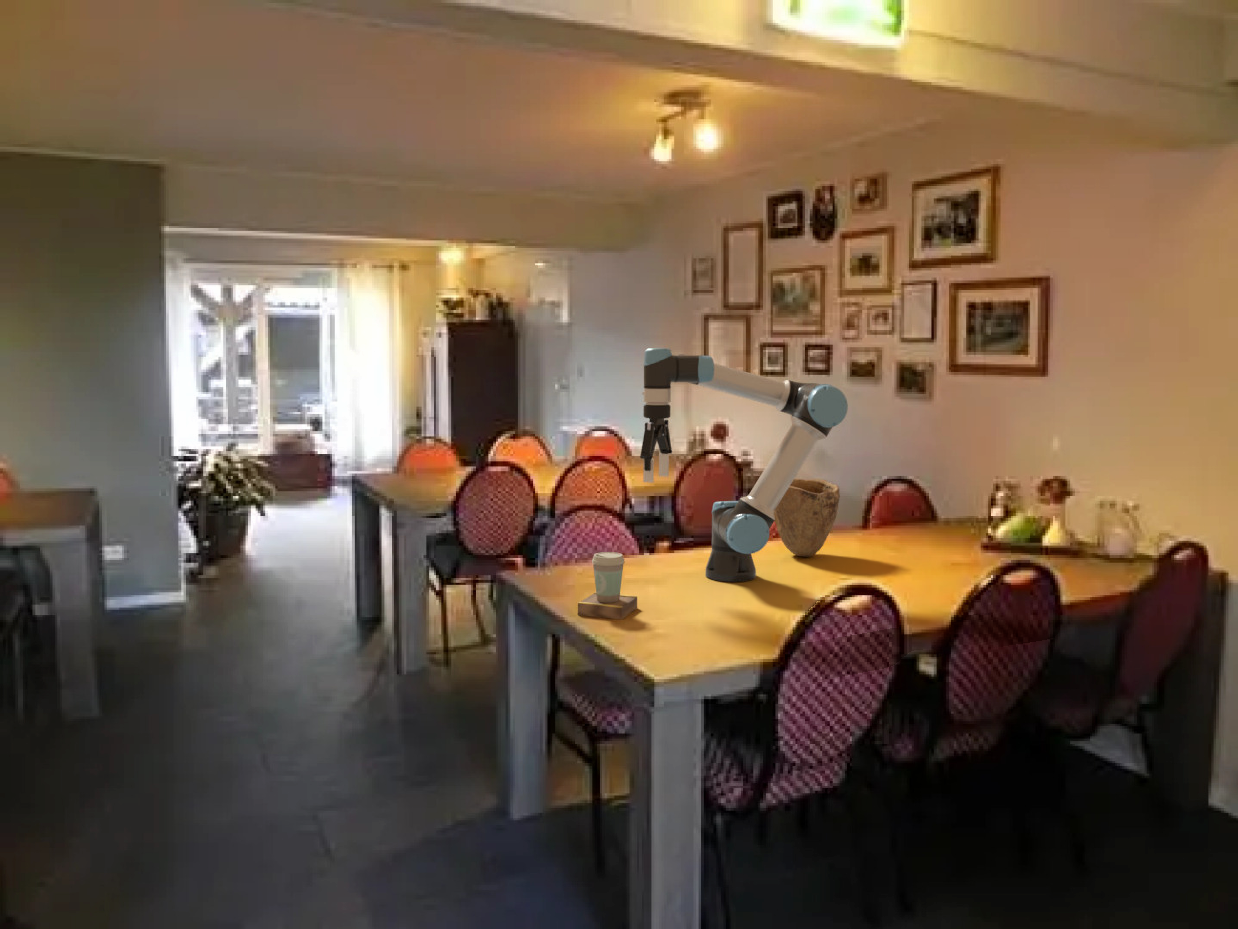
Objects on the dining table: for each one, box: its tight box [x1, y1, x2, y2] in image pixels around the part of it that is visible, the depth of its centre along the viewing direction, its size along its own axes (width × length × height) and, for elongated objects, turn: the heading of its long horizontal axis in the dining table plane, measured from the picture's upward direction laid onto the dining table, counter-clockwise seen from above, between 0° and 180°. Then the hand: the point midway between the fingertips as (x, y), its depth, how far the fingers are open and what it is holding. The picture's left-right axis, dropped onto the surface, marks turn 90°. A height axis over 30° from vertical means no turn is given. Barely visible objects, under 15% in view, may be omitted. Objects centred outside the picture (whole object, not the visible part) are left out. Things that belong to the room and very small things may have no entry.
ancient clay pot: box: [774, 478, 841, 558], centre depth 331 cm, size 22×22×25 cm
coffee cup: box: [591, 551, 626, 603], centre depth 262 cm, size 8×9×12 cm
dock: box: [577, 591, 638, 620], centre depth 262 cm, size 12×12×3 cm
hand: (656, 479), depth 282 cm, fingers open, 13 cm apart
